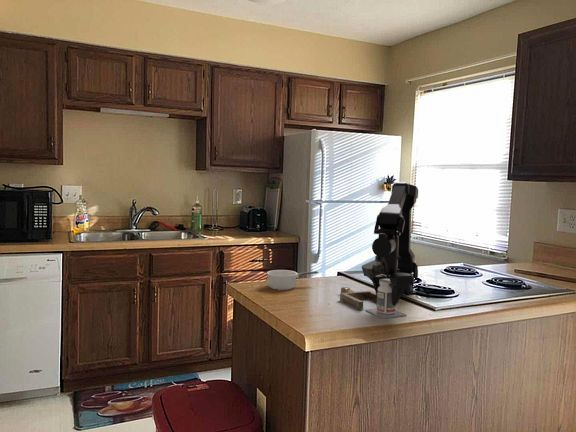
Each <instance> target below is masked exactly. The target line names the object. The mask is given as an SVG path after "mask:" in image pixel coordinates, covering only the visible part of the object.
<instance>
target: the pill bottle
mask: <svg viewBox="0 0 576 432" xmlns="http://www.w3.org/2000/svg"><path fill="white" fill-rule="evenodd" d="M379 284H380V287H378V291H377V302H376V308H377V311H378V312H379V313H383V314H393V313H395V310H397V309H396V308H397V307H396V306H397V304H396V305H392V289H391V287H390V286H389V285H388V284H391V282H390V278H386V279H380V280H379Z"/></svg>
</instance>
